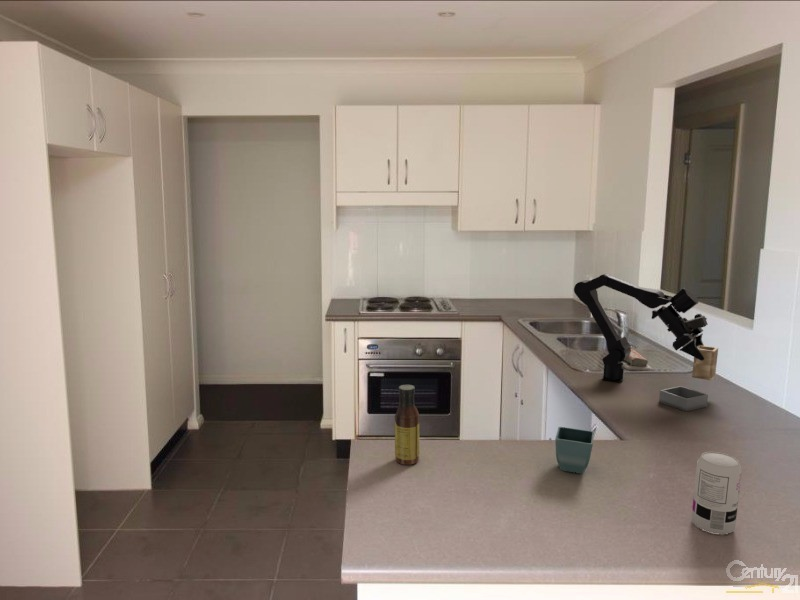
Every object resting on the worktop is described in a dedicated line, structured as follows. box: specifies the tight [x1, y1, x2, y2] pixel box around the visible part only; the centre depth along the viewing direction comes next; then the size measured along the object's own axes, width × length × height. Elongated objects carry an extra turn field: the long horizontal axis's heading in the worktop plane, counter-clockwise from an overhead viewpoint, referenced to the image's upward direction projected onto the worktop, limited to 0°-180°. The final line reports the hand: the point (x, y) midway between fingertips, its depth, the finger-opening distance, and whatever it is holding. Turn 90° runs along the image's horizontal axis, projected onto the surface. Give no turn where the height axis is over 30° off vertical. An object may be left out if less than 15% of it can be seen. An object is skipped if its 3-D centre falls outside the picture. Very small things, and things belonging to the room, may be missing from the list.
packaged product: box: [622, 348, 653, 371], centre depth 253 cm, size 18×5×10 cm
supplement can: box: [691, 451, 743, 534], centre depth 130 cm, size 8×8×15 cm
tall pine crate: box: [691, 345, 719, 382], centre depth 212 cm, size 6×6×10 cm
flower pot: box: [554, 426, 595, 474], centre depth 157 cm, size 9×9×9 cm
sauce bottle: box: [394, 384, 421, 466], centre depth 159 cm, size 6×6×20 cm
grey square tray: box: [658, 385, 709, 412], centre depth 206 cm, size 10×10×4 cm
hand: (705, 357), depth 212 cm, fingers closed on tall pine crate, 6 cm apart
